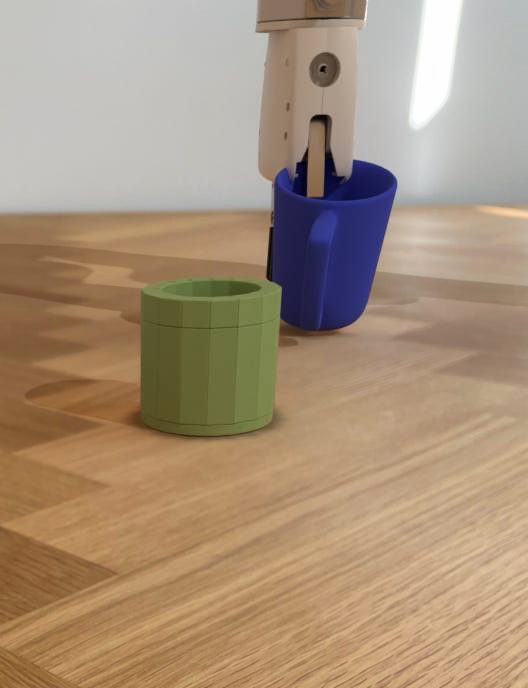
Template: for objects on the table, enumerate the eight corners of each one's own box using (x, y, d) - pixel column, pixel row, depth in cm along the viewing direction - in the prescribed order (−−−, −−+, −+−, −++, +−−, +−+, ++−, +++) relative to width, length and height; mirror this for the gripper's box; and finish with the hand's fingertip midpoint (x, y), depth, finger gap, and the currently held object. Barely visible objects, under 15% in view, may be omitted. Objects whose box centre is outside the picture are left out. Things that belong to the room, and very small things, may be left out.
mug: (243, 361, 74) (256, 220, 67) (270, 286, 82) (284, 153, 75) (363, 374, 72) (388, 230, 65) (378, 296, 80) (402, 160, 73)
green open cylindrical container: (255, 397, 62) (262, 274, 59) (287, 432, 56) (296, 296, 52) (133, 403, 62) (133, 280, 59) (151, 439, 55) (152, 303, 52)
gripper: (401, -2, 66) (365, 298, 75) (334, 13, 79) (310, 266, 88) (284, 0, 66) (261, 300, 75) (236, 15, 79) (222, 268, 88)
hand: (288, 281), depth 81 cm, fingers closed
